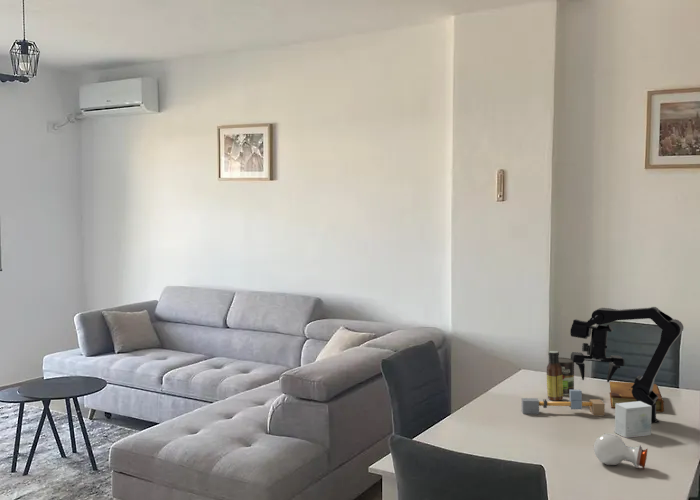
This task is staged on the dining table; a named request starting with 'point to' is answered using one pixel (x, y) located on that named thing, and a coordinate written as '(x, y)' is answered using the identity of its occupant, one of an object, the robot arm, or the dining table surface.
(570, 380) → the coffee can
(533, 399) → the rail
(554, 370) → the sauce bottle
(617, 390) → the diary
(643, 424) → the skincare box
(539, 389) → the dining table surface
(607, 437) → the potion bottle
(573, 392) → the notched blue-grey block
